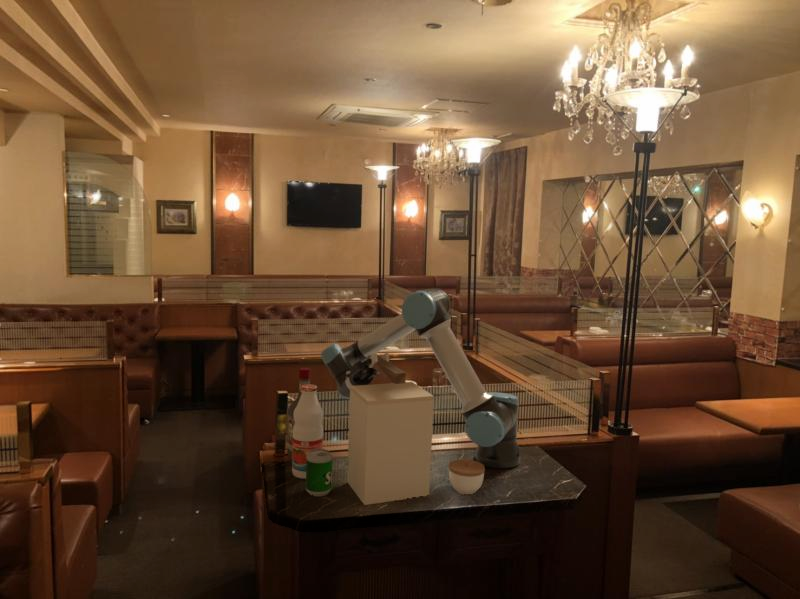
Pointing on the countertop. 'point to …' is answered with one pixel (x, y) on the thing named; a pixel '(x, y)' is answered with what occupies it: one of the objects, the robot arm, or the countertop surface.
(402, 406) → the pedestal
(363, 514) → the countertop surface
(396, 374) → the dark brown wooden post
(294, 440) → the fruit juice
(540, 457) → the countertop surface
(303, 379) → the liquor
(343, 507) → the countertop surface
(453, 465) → the lidded jar
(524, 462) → the countertop surface
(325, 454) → the soda can
